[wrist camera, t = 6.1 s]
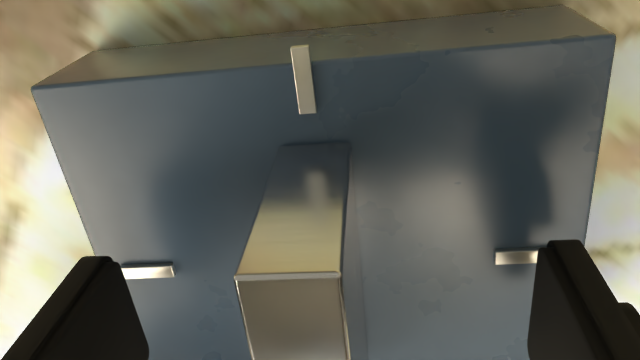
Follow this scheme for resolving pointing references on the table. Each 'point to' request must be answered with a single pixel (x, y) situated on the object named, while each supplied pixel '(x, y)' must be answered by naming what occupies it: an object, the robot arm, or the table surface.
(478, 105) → the panel
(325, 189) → the tap handle
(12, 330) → the table surface
